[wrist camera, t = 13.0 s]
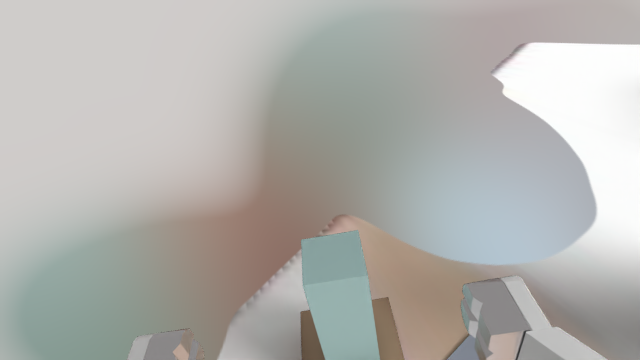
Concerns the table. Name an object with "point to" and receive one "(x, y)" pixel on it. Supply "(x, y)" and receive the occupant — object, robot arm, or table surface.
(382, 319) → the base block
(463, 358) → the blueprint tile
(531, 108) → the table surface
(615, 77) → the table surface
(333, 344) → the pillar
